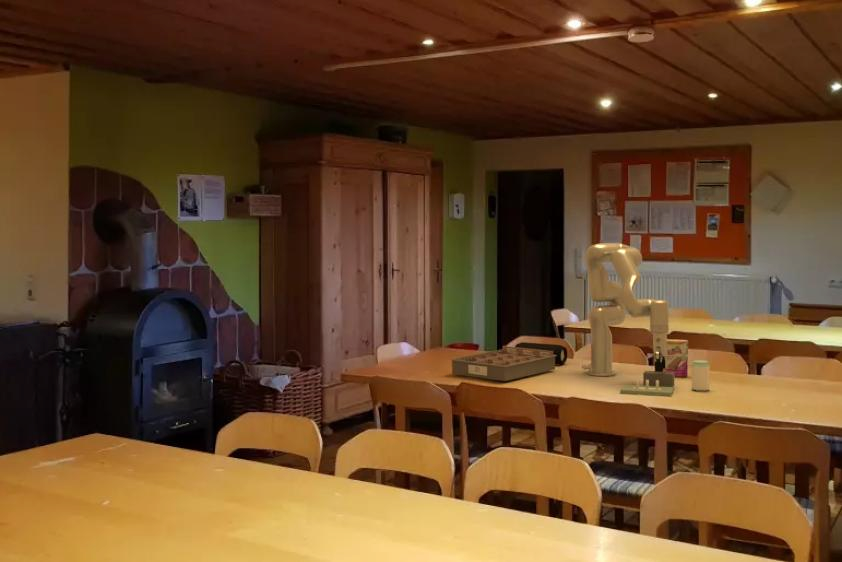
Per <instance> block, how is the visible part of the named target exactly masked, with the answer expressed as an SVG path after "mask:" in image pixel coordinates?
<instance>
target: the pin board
mask: <svg viewBox="0 0 842 562" xmlns="http://www.w3.org/2000/svg"><path fill="white" fill-rule="evenodd" d="M673 391H675V386H673V387H661V386H659V380H656V386H649V380H646V386H643V384H642V385H641V384H640V380H639V379H638V378H636V379H635V385H634V384H624V385H623V386H622V387H621V388H620V389H619V393H620V394H621V395H623V394H624V395H637V394H646V395H645V396H654V395H662V396H661V397H672V396H671V395H673V394H672V393H674V392H673Z"/></svg>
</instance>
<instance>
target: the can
mask: <svg viewBox="0 0 842 562" xmlns="http://www.w3.org/2000/svg"><path fill="white" fill-rule="evenodd" d="M710 368H711V366H710V364H709V361H708V360H705V359H704V360H701V359H700V360H698V359H697V360H696V359H695V360H693V361H692V364H691V389H692V390H693V391H695V390H696V391H695V392H708V390H710V378H711V377H710V376H711V375H710V374H711V372H710Z"/></svg>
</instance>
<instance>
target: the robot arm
mask: <svg viewBox="0 0 842 562" xmlns="http://www.w3.org/2000/svg"><path fill="white" fill-rule="evenodd" d="M584 260H585V265H586V269H587V276H588V286H589V294H590V299H591V300H592V301H593V302H594V303H608V304H601V305H596V306H593V307H592V308H591V309H589V312H588V322H589V328H590V346H591V347H590V363H589V364H581V369H583V370H587V374H588V375H589V376H593V377H611V376H615V375H616V371H615V370H613V335H612V332H611V330H610V328H609V326H617V325H618V326H619V325H621V324H623V323H624V321H625V319H626V312H627V313H628V315H630V316H631V317H632V318H644V317H647V318H648V317H649V332H650V334H652V341H653V342H652V348H653V349H652V350H653V357H654V371H655V372H662V371H663V368H665V357H666V356H667V354H668V350H667V339H668V336H667V334H669V332H670V331H669V329H670V327H669V302H668V301H667V300H664V299H663V300H662V299H658V300H657V299H654V298H643V299H642V298H641V299H637V298H636V296H635V295H634V292H633V286H635V285H636V284H638V283H639V281H640V280H641V279H642V275H641V273H640V271H639V270H638V266H640V265H641V264H642V263H643V262H642V261H643V256H642V252H640V250H639V249H638V248H636V247H633V246H630V245H626V244H625V243H624V244H623V243H619V242H608V243H605V242H603V243H596V244H591V246H589V247H588V248H587V249H586V252H585V255H584ZM603 263H612V265H613V268H614V269H615V271H616V273H617V275H618V277H619V279H620V281H621V283H622V285H621V284H620V283H619V282H618V281H615V280H608V278H609V277H608V272H607V269H606V267H605V265H604V264H603Z"/></svg>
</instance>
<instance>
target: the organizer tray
mask: <svg viewBox="0 0 842 562" xmlns="http://www.w3.org/2000/svg"><path fill="white" fill-rule="evenodd" d="M555 356H557V355H553V351H546V350H537V349H528V348H518V347H515V346H507V345H502V349H498V350H492V351H487V352H482V353H477V354H472V355H471V354H470V355H465V356H460V357H456V358H450V361H451V372H452V373H451V374H453V375H459V376H460V375H461V376H467V377H473V378H481V379H486V380H487V379H489V380H493V381H502V382H507V381H511V380H515V379H520V378H525V377H527V376H531V375H537V374H541V373H544V372H549V371H553V370H556V365H555Z"/></svg>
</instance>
